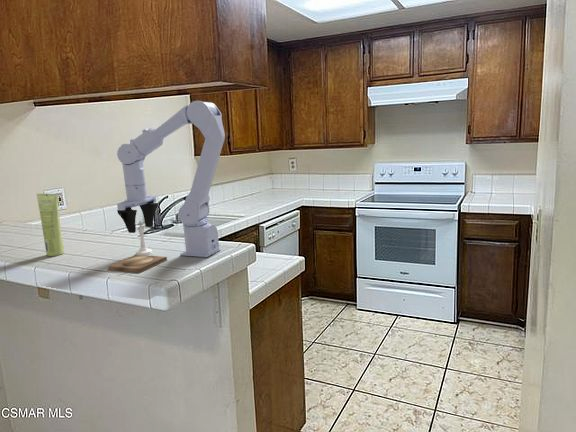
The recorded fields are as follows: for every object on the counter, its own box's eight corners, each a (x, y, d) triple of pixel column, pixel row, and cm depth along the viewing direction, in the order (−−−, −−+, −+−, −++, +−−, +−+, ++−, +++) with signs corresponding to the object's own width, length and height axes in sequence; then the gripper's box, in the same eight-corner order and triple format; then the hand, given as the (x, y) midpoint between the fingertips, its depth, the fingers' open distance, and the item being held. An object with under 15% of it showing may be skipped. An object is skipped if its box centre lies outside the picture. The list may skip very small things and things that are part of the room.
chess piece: (147, 255, 131) (143, 223, 129) (132, 255, 132) (128, 223, 130) (155, 251, 136) (151, 219, 134) (141, 251, 137) (137, 219, 135)
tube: (66, 250, 142) (56, 191, 138) (66, 254, 138) (56, 193, 134) (46, 253, 140) (36, 193, 136) (46, 257, 135) (35, 195, 132)
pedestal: (167, 260, 125) (166, 256, 125) (140, 272, 115) (140, 268, 115) (136, 257, 130) (136, 253, 129) (108, 269, 120) (108, 265, 119)
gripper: (141, 181, 138) (146, 223, 141) (106, 188, 125) (112, 234, 127) (159, 181, 135) (164, 224, 138) (126, 188, 122) (132, 235, 125)
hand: (140, 229), depth 132 cm, fingers open, 7 cm apart
